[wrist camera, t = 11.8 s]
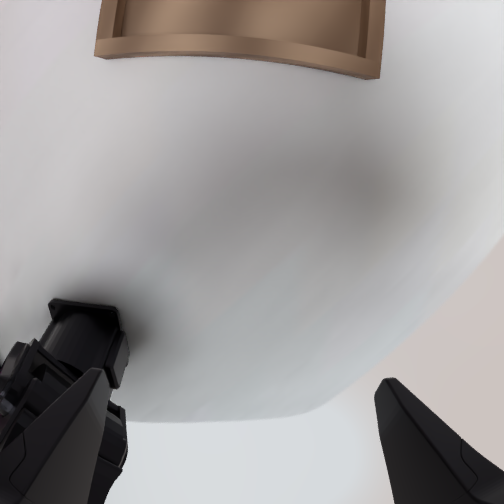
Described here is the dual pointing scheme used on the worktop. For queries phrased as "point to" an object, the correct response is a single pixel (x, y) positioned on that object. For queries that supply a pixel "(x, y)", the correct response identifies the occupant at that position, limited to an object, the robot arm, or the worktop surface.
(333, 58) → the tray
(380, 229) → the worktop surface
